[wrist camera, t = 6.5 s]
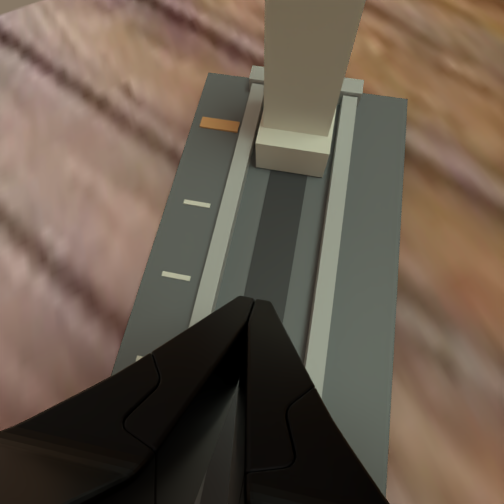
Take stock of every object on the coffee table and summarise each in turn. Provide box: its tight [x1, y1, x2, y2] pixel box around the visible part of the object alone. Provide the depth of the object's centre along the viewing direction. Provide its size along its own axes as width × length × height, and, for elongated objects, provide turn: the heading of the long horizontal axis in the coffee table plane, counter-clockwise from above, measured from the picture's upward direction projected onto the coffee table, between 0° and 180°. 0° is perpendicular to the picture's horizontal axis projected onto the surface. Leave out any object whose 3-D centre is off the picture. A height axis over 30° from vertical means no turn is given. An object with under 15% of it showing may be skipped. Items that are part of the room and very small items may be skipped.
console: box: [111, 66, 408, 504], centre depth 16 cm, size 26×12×2 cm, turn 169°
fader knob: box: [255, 0, 366, 178], centre depth 14 cm, size 5×4×12 cm
